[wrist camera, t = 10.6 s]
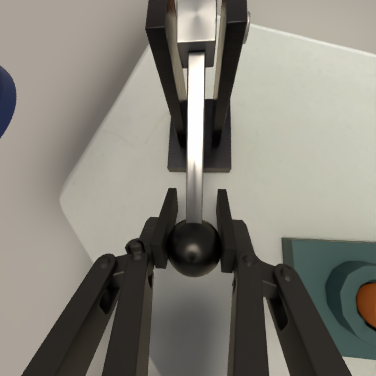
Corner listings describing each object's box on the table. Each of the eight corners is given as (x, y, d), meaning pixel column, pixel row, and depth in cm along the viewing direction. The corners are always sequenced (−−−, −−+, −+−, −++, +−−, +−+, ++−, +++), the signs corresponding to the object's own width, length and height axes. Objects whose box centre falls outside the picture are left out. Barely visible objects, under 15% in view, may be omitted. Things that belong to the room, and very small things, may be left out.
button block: (288, 335, 17) (314, 369, 13) (281, 237, 19) (302, 241, 15) (416, 348, 16) (484, 389, 12) (394, 243, 18) (447, 249, 14)
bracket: (229, 172, 21) (286, 69, 7) (169, 171, 22) (108, 76, 8) (228, 106, 23) (271, -82, 9) (173, 107, 24) (131, -65, 10)
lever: (218, 258, 14) (224, 294, 10) (172, 255, 14) (159, 289, 10) (226, 31, 12) (238, -39, 8) (171, 34, 12) (156, -31, 8)
